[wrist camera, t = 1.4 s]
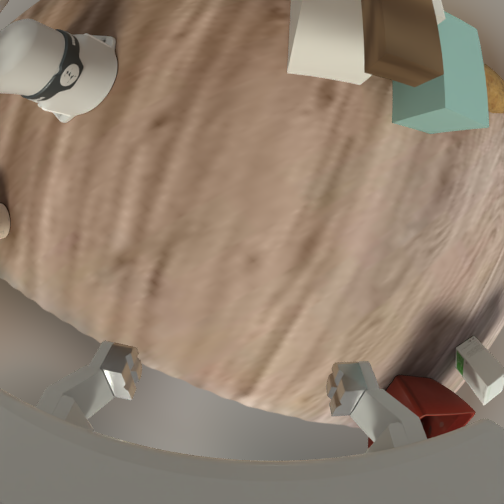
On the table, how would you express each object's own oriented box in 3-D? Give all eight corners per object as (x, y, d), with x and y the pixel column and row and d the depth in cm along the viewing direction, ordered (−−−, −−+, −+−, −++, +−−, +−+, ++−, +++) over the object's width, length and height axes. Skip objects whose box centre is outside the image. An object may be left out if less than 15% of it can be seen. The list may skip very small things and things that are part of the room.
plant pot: (448, 369, 52) (478, 412, 36) (407, 420, 58) (426, 464, 42) (394, 360, 52) (423, 414, 35) (353, 417, 57) (366, 470, 41)
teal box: (392, 122, 38) (445, 107, 23) (390, 42, 34) (433, 5, 18) (430, 133, 38) (488, 127, 23) (428, 56, 33) (476, 29, 18)
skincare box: (455, 346, 50) (487, 386, 35) (475, 333, 49) (508, 369, 34) (455, 368, 52) (482, 407, 37) (474, 356, 51) (503, 391, 36)
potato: (496, 126, 36) (521, 125, 28) (450, 96, 35) (475, 89, 28) (497, 88, 33) (520, 83, 25) (451, 56, 33) (473, 45, 25)
